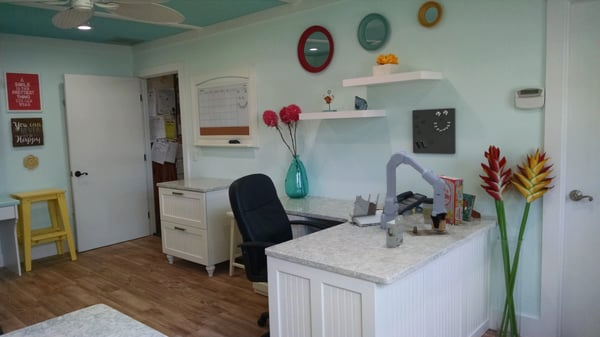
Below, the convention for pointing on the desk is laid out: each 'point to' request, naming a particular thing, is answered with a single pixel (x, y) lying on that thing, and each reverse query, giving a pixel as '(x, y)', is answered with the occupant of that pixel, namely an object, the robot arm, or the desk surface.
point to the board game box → (453, 199)
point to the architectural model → (366, 212)
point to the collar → (440, 225)
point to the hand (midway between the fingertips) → (438, 227)
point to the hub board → (426, 232)
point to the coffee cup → (427, 210)
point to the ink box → (394, 232)
